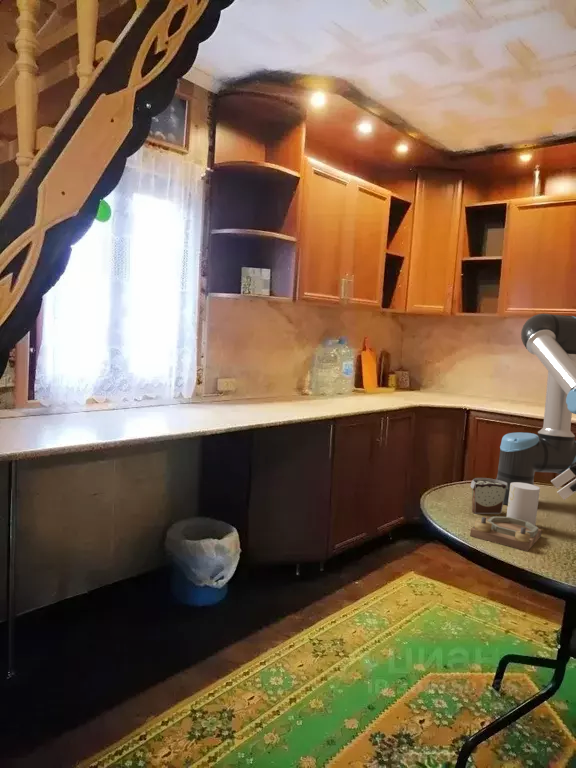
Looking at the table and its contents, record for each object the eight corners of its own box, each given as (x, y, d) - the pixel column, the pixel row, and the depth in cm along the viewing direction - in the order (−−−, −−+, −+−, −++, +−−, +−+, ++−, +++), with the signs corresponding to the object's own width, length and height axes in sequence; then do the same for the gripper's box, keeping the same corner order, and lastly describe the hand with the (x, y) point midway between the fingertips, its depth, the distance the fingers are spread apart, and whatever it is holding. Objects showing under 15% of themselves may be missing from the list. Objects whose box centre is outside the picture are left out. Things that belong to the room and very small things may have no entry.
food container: (493, 507, 190) (497, 477, 189) (505, 513, 184) (508, 482, 183) (460, 507, 187) (463, 477, 186) (470, 513, 181) (474, 482, 180)
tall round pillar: (511, 518, 179) (515, 480, 178) (538, 526, 174) (543, 487, 173) (501, 524, 173) (506, 484, 172) (530, 532, 168) (535, 491, 166)
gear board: (487, 522, 173) (489, 505, 172) (540, 536, 164) (543, 518, 164) (470, 535, 160) (472, 517, 159) (527, 551, 151) (529, 531, 151)
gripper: (643, 464, 150) (573, 512, 156) (620, 448, 174) (559, 490, 180) (622, 442, 152) (553, 489, 157) (602, 429, 175) (543, 471, 181)
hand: (556, 490), depth 169 cm, fingers open, 13 cm apart
